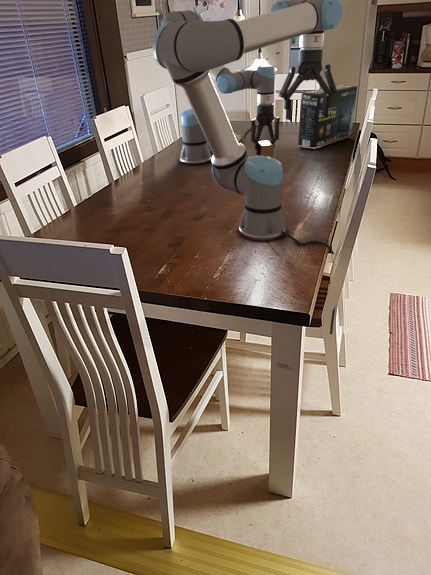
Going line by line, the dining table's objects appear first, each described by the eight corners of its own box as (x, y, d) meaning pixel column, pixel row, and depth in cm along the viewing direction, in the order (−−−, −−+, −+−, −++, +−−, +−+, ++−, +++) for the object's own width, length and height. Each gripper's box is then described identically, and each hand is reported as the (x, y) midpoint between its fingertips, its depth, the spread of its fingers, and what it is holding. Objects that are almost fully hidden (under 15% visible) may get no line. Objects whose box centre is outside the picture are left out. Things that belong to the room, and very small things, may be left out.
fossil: (235, 141, 239) (215, 122, 242) (224, 158, 245) (206, 140, 249) (251, 139, 253) (233, 122, 256) (241, 155, 259) (223, 138, 262)
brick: (256, 157, 219) (256, 141, 215) (267, 156, 220) (267, 140, 217) (262, 161, 212) (262, 145, 209) (273, 160, 214) (273, 144, 210)
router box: (314, 151, 231) (318, 94, 217) (296, 148, 237) (299, 92, 224) (352, 138, 251) (358, 85, 238) (335, 135, 258) (340, 83, 245)
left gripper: (248, 107, 199) (248, 160, 211) (288, 103, 203) (286, 156, 215) (243, 104, 205) (243, 156, 217) (281, 101, 209) (280, 152, 221)
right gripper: (279, 51, 142) (276, 122, 153) (351, 47, 147) (344, 116, 158) (270, 50, 148) (268, 118, 159) (340, 45, 153) (334, 112, 164)
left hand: (264, 156), depth 216 cm, fingers closed on brick, 6 cm apart
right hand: (306, 117), depth 159 cm, fingers open, 13 cm apart
